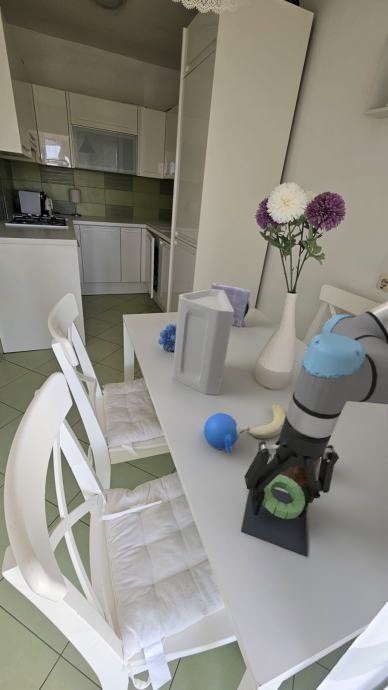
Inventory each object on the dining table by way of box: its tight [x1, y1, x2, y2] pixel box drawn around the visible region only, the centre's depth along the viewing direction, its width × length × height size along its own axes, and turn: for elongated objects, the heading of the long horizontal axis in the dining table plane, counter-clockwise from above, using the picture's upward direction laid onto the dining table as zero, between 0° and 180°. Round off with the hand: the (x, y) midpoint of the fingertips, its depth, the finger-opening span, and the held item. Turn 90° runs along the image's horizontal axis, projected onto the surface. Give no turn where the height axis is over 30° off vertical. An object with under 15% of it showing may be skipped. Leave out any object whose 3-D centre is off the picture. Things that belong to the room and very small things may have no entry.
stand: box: [279, 457, 321, 488], centre depth 69 cm, size 11×11×11 cm
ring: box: [262, 475, 305, 519], centre depth 59 cm, size 8×8×2 cm
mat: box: [240, 488, 307, 557], centre depth 62 cm, size 12×12×1 cm
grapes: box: [158, 322, 177, 352], centre depth 115 cm, size 12×7×12 cm, turn 94°
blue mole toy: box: [203, 412, 251, 454], centre depth 76 cm, size 12×12×8 cm
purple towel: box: [210, 282, 251, 328], centre depth 144 cm, size 19×5×18 cm, turn 72°
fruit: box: [246, 402, 287, 439], centre depth 84 cm, size 7×15×3 cm, turn 139°
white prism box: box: [172, 288, 234, 396], centre depth 96 cm, size 19×15×28 cm
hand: (276, 509), depth 61 cm, fingers closed on ring, 8 cm apart
